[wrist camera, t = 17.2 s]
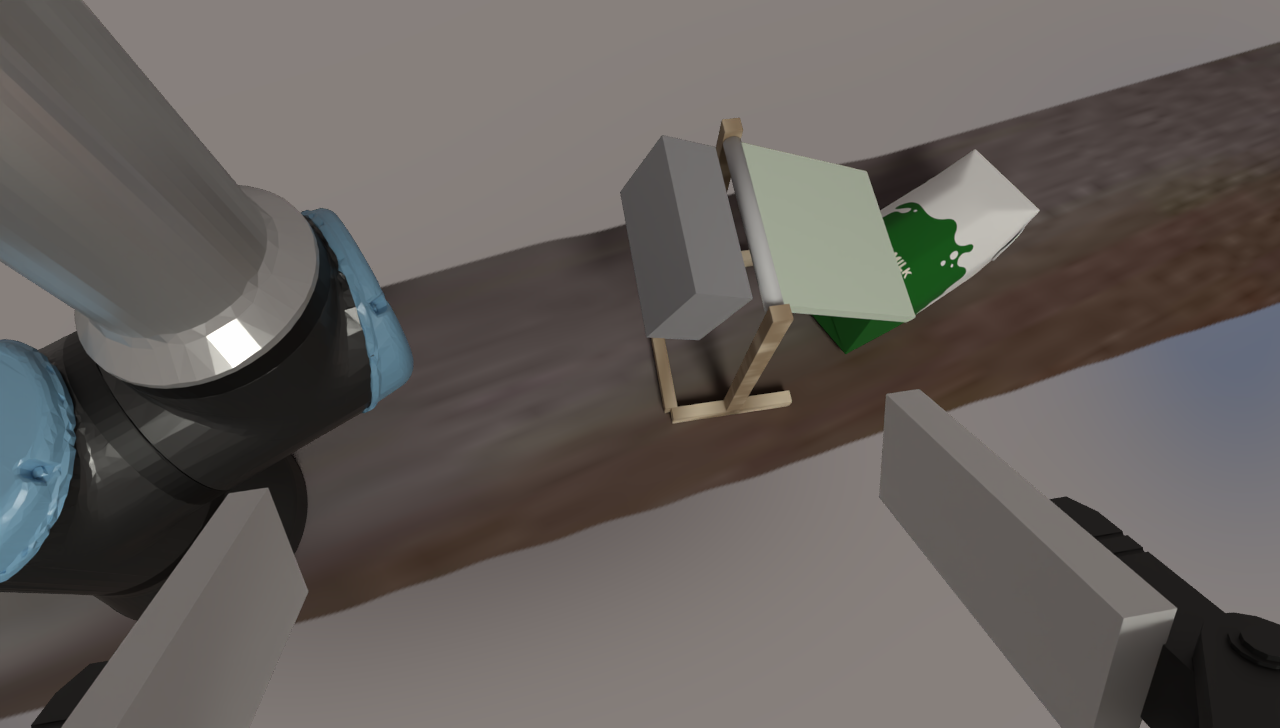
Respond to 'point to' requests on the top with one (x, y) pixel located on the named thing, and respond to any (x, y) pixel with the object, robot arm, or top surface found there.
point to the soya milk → (943, 238)
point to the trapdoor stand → (756, 355)
